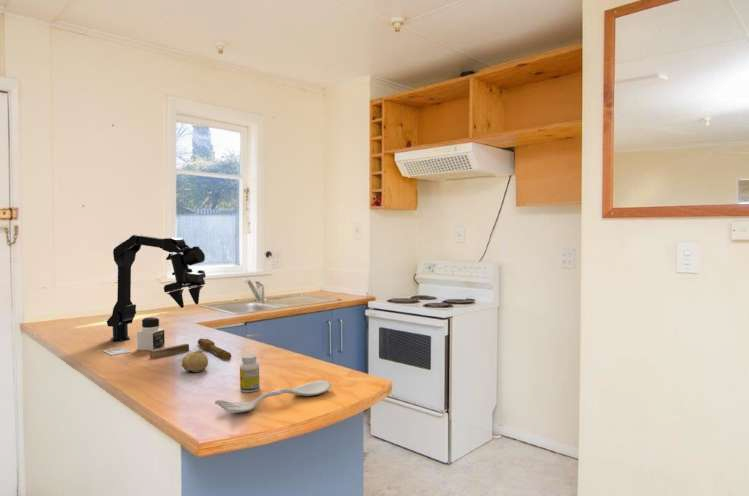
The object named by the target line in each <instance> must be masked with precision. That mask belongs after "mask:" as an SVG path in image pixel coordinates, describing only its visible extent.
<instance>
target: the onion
mask: <svg viewBox="0 0 749 496" xmlns="http://www.w3.org/2000/svg"><path fill="white" fill-rule="evenodd" d="M181 365H182V368H183V370H184V371H186V372H187V373H189V374H190V373H191V372H193V373H200V372H202V371H204V370H206V369H207V367H208V365H209V358H208V357H207V355H206V354H205V353H204V351H203V349H202V348H200V349H199V350H195V351H194V350H193V351H189V352H188V353H187V354H185V355H184V356H183V358H182V360H181Z"/></svg>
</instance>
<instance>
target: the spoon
mask: <svg viewBox="0 0 749 496" xmlns="http://www.w3.org/2000/svg"><path fill="white" fill-rule="evenodd" d="M331 387H332V383H331V382H330V381H329V380H316V381H312V382H308V383H304V384H302V385H299V386H295V387H293V388H282V389H274V390H273V391H269V392H266V393H263V394H262V395H260V396H258V397H256V398H255V399H253V400H250V401H248V402H245V401H242V402H241V401H239V402H238V401H227V400H222V399H221V400H220V399H219V400H215V401H214V404H215V405H218V406H219V407H220V408H222V409H224V410H225V411H226V412H228V413H229V414H240V413H245V412H249V411H252V410H253V409H254V408H255V407H256V406H257V405H258V404H259V403H260V402H261V401H264V400H265V399H267V398H269V397H273V396H280V395H282V394H293V395H298V396H304V397H311V396H317V395H321V394H323V393H324V392H327V391H328V390H330V389H331Z"/></svg>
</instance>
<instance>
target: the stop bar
mask: <svg viewBox="0 0 749 496" xmlns="http://www.w3.org/2000/svg"><path fill="white" fill-rule="evenodd" d="M185 352H190V344H188V343H182V344H177V345H171V346H166V347H162V348H160V349H156V350H151V351H149V353H150V354H149V356H150V358H151V359H157V358H161V357H166V356H171V355H175V354H180V353H185Z"/></svg>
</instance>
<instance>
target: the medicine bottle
mask: <svg viewBox="0 0 749 496" xmlns="http://www.w3.org/2000/svg"><path fill="white" fill-rule="evenodd" d="M141 327H142V328H141V329H142V330H138V331H137V332H136V341H137V342H136V343H137V344H136V346H137V347H136V350H137V351H147V352H148V351H149V352H150V351H151V350H156V349H161V348H165V346H166V345H165V329H164V328H160V318H159V317H154V316H152V317H151V316H150V317H144V318H143V319H142V320H141Z"/></svg>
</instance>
